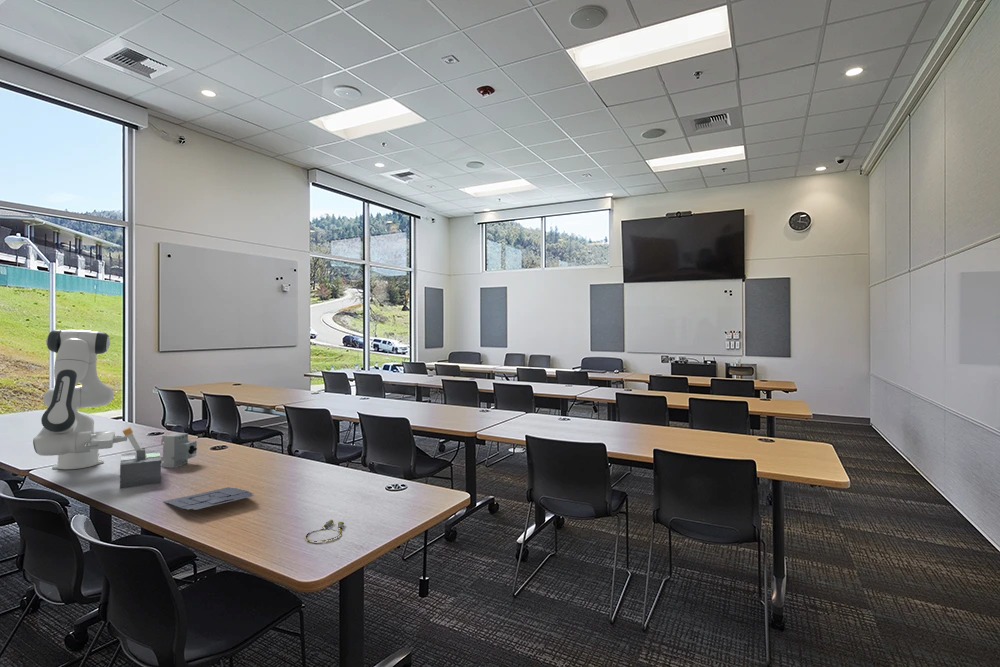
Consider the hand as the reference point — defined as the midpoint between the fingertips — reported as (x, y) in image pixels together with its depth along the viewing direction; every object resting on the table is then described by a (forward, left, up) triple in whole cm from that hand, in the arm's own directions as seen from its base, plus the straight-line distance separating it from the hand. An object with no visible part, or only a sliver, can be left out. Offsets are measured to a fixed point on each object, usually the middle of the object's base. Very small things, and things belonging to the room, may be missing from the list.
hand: (127, 438), depth 214 cm
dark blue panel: (+50, +27, -19) cm, 60 cm away
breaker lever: (0, +5, -8) cm, 10 cm away
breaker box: (0, +5, -19) cm, 20 cm away
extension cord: (+104, +55, -20) cm, 119 cm away
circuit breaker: (-18, +21, -19) cm, 34 cm away
